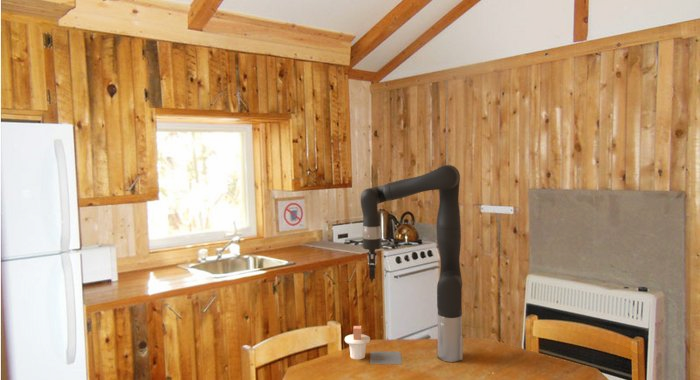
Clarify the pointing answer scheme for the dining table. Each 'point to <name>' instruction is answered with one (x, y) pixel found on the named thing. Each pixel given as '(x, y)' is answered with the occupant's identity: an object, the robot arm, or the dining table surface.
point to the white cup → (357, 351)
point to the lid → (357, 337)
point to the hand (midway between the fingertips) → (372, 276)
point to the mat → (385, 358)
